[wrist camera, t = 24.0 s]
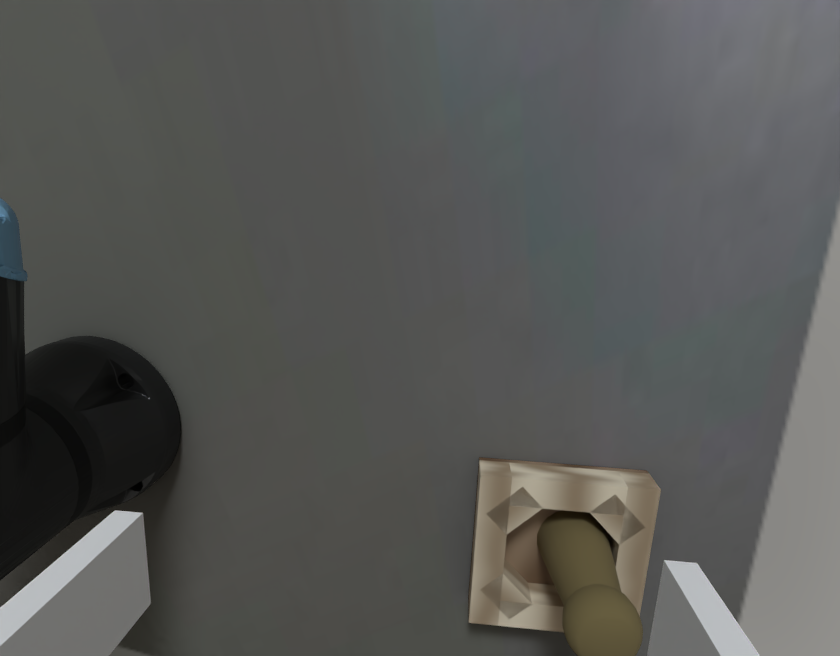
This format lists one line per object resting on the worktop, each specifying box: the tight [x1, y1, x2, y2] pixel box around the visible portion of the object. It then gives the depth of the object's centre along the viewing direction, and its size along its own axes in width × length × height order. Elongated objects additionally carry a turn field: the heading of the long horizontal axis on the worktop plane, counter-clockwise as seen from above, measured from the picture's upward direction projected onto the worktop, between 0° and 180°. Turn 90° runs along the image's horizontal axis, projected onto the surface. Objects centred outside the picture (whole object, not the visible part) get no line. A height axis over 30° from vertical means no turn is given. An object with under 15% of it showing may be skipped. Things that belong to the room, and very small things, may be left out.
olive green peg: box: [537, 510, 643, 656], centre depth 38 cm, size 6×6×11 cm
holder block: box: [468, 457, 661, 632], centre depth 42 cm, size 14×14×3 cm
